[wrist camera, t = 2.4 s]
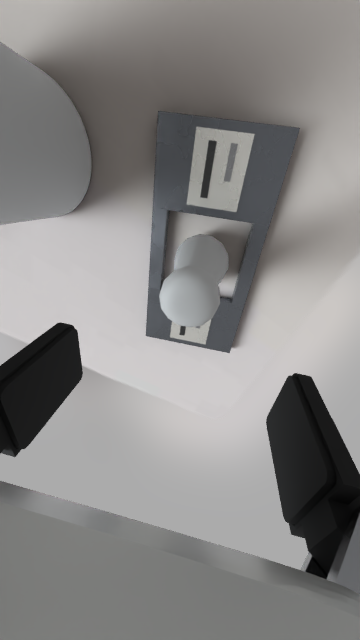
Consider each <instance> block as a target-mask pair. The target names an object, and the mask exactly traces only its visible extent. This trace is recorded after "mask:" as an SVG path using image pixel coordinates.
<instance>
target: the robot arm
mask: <svg viewBox="0 0 360 640" xmlns="http://www.w3.org/2000/svg"><path fill="white" fill-rule="evenodd" d="M82 374H83V372H82V364H81V356H80V348H79V341H78V333H77V330H76V329H75V328H74V326H73V325H69V324H65V323H57V324H56V325H55V326H53V327H52V328H50V329H49V330H48V331H46V332H45V333H44V334H42V335H41V336H40V337H38V338H37V339H36V340H34V341H33V342H32V343H30V344H29V345H28V346H26V347H25V348H23V349H22V350H21V351H20V352H18V353H17V354H16V355H14V356H13V357H11V358H10V359H9V360H7V361H6V362H5V363H3V364H2V365H1V366H0V453H1V452H2V453H3V454H6V455H10V456H13V457H16V455H17V454H18V453H19V452H20V450H21V449H25V448H26V447H27V446H28V445H29V444H30V443H31V442H32V440H33V439H34V438H35V437H36V435H37V434H38V433H39V432H40V430H41V429H42V428H43V427H44V425H45V424H46V423H47V422H48V420H49V419H50V418H51V417H52V415H53V414H54V412H56V410H57V409H58V408H59V406H60V405H61V404H62V403H63V401H64V400H65V399H66V398H67V396H68V395H69V394H70V393H71V391H72V390H73V389H74V388H75V386H76V385H77V384H78V383H79V381H80V380H81V378H82ZM266 423H267V431H268V436H269V441H270V447H271V452H272V458H273V463H274V468H275V474H276V479H277V484H278V490H279V495H280V501H281V506H282V512H283V516H284V519H285V521H286V522H287V523H289V526H290V530H291V534H292V535H295V536H298V537H302V538H305V540H306V543H307V548H308V551H309V553H308V555H307V557H306V559H305V562H304V564H303V566H302V568H301V570H298V569H295V568H291V567H288V566H285V565H282V564H279V563H276V562H273V561H269V560H267V559H263V558H260V557H257V556H254V555H250V554H248V553H244V552H241V551H237V550H234V549H231V548H227V547H224V546H221V545H217V544H214V543H211V542H207V541H204V540H201V539H197V538H194V537H190V536H187V535H184V534H181V533H177V532H174V531H170V530H167V529H164V528H160V527H157V526H153V525H150V524H147V523H143V522H140V521H137V520H133V519H129V518H126V517H123V516H119V515H116V514H113V513H109V512H106V511H102V510H99V509H96V508H92V507H89V506H85V505H82V504H78V503H75V502H71V501H68V500H65V499H61V498H58V497H54V496H51V495H47V494H44V493H40V492H37V491H33V490H30V489H26V488H23V487H19V486H16V485H13V484H9V483H6V482H2V481H0V640H360V474H359V472H358V470H357V468H356V466H355V464H354V462H353V460H352V458H351V456H350V454H349V452H348V450H347V448H346V446H345V444H344V442H343V439H342V438H341V436H340V433H339V431H338V429H337V427H336V425H335V423H334V421H333V419H332V418H331V416H330V414H329V412H328V410H327V408H326V406H325V404H324V402H323V400H322V398H321V396H320V394H319V391H318V389H317V388H316V386H315V383H314V381H313V379H312V378H311V377H310V376H306V375H302V374H297V373H295V374H293V375H292V376H288V378H287V379H286V381H285V383H284V385H283V387H282V389H281V391H280V393H279V395H278V397H277V399H276V401H275V403H274V405H273V407H272V409H271V410H270V412H269V415H268V416H267V422H266Z"/></svg>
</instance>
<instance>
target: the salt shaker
mask: <svg viewBox="0 0 360 640" xmlns="http://www.w3.org/2000/svg"><path fill="white" fill-rule="evenodd" d="M227 269H228V254H227V251H226V249H225V247H224V245H223V244H222V243H221V242H220V241H218V240H217V239H215V238H214V237H213V236H208V235H202V234H199V235H196V236H193V237H190V238H187V239H186V240H185V241H184V242H183V243H182V244H181V245H180V246H179V247H178V250H177V253H176V256H175V264H174V271H173V272H172V273H171V274H170V275H169V276H168V277H167V278H166V279H165V280H164V282H163V285H162V288H161V291H160V296H159V298H160V304H161V309H162V310H163V312H164V313H165V315H166V316H167V317H168V319H170V320H171V321H173V322H174V323H176V324H178V325H180V326H186V327H195V326H201V325H204V324H205V323H206V322H208V321H209V320H210V319H212V318H213V316H214V314H215V312H216V311H217V309H218V307H219V305H220V290H219V286H218V284H219V283H220V282H221V280H222V279H223V277H224V275H225V273H226V271H227Z"/></svg>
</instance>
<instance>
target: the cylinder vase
mask: <svg viewBox="0 0 360 640" xmlns="http://www.w3.org/2000/svg"><path fill="white" fill-rule="evenodd" d="M91 166H92V165H91V151H90V145H89V140H88V137H87V133H86V130H85V127H84V125H83V122H82V120H81V117H80V115H79V113H78V111H77V110H76V108H75V106H74V104H73V103H72V101H71V100H70V98H69V97H68V95H67V94H66V93H65V91H64V90H63V89H62V88H61V87H60V86H59V85H58V83H57V82H56V81H55V80H54V79H52V78H51V77H50V76H49V75H48V74H46V73H45V72H44V71H42V70H41V69H39V68H38V67H37V66H35V65H34V64H32V63H31V62H29V61H28V60H26V59H25V58H23V57H22V56H20V55H19V54H18V53H16V52H15V51H13V50H12V49H10V48H9V47H7V46H6V45H4V44H3V43H1V42H0V225H2V224H9V223H16V222H24V221H31V220H38V219H45V218H52V217H59V216H62V215H65V214H67V213H69V212H71V211H72V210H74V209H75V208H76V207H77V206H78V205H79V204H80V203H81V201H82V200H83V198H84V196H85V194H86V192H87V189H88V186H89V183H90V178H91Z"/></svg>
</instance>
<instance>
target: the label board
mask: <svg viewBox="0 0 360 640" xmlns="http://www.w3.org/2000/svg"><path fill="white" fill-rule="evenodd" d="M299 129H300V128H295V127H287V126H278V125H270V124H262V123H253V122H245V121H237V120H228V119H220V118H212V117H203V116H195V115H187V114H178V113H170V112H162V111H158V125H157V143H156V161H155V180H154V198H153V216H152V234H151V252H150V270H149V288H148V306H147V324H146V336H149V337H154V338H159V339H163V340H168V341H173V342H178V343H183V344H188V345H193V346H198V347H202V348H207V349H212V350H217V351H222V352H227V353H230V350H231V346H232V343H233V340H234V337H235V334H236V330H237V327H238V324H239V321H240V318H241V315H242V311H243V308H244V305H245V302H246V299H247V295H248V292H249V289H250V286H251V283H252V279H253V276H254V273H255V270H256V267H257V263H258V260H259V257H260V254H261V251H262V247H263V244H264V241H265V238H266V235H267V231H268V228H269V225H270V222H271V219H272V215H273V212H274V209H275V206H276V203H277V200H278V196H279V193H280V190H281V187H282V184H283V180H284V177H285V174H286V171H287V168H288V164H289V161H290V158H291V155H292V152H293V148H294V145H295V142H296V139H297V136H298V132H299ZM169 210H172V211H179V212H185V213H191V214H198V215H204V216H211V217H217V218H223V219H230V220H236V221H243V222H249V223H252V227H251V230H250V234H249V238H248V241H247V245H246V249H245V252H244V256H243V260H242V263H241V267H240V270H239V274H238V278H237V281H236V285H235V289H234V292H233V296H232V299H229V298H224V297H220V305H219V307H218V309H217V311H216V312H215V314H214V316H213V318H212V319H210V320H209V321H208V322H206V323H205V324H204V325H201V326H195V327H186V326H180V325H178V324H176V323H174V322H173V321H171V320H170V319H168V317H167V316H166V315H165V313H164V312H163V310H162V309H161V304H160V298H159V296H160V291H161V288H162V285H163V274H164V263H165V252H166V241H167V230H168V219H169Z"/></svg>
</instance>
